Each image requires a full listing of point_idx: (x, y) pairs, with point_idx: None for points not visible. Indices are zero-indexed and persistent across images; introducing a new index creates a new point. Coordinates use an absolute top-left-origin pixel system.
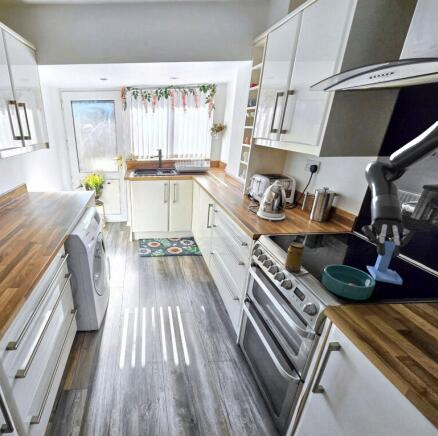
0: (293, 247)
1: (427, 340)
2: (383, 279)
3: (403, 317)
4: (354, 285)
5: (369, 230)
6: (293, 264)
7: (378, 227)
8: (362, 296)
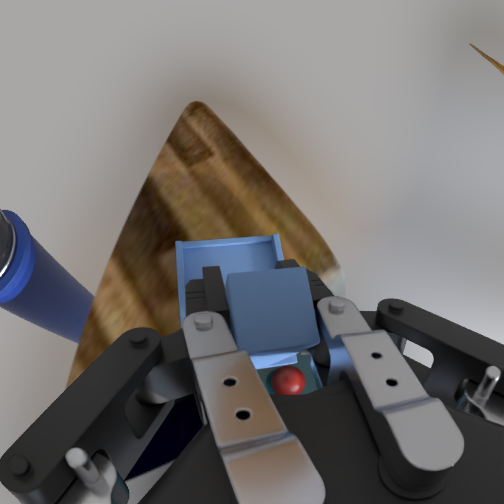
0: None
1: (129, 234)
2: (245, 237)
3: (151, 311)
4: (286, 377)
5: (485, 351)
6: None
7: (456, 422)
8: None
